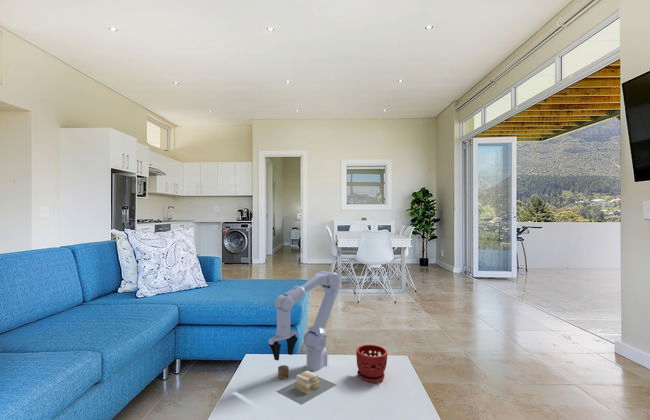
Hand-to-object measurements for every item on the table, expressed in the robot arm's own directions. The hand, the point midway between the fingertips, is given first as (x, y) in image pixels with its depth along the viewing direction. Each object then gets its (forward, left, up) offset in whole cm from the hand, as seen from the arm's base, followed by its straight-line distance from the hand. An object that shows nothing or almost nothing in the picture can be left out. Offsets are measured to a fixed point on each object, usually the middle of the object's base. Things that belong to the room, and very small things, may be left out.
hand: (283, 357), depth 143 cm
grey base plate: (0, +14, -9) cm, 17 cm away
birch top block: (0, +14, -6) cm, 15 cm away
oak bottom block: (0, +14, -8) cm, 16 cm away
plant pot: (-26, +27, -10) cm, 39 cm away
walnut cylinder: (0, 0, -9) cm, 9 cm away
